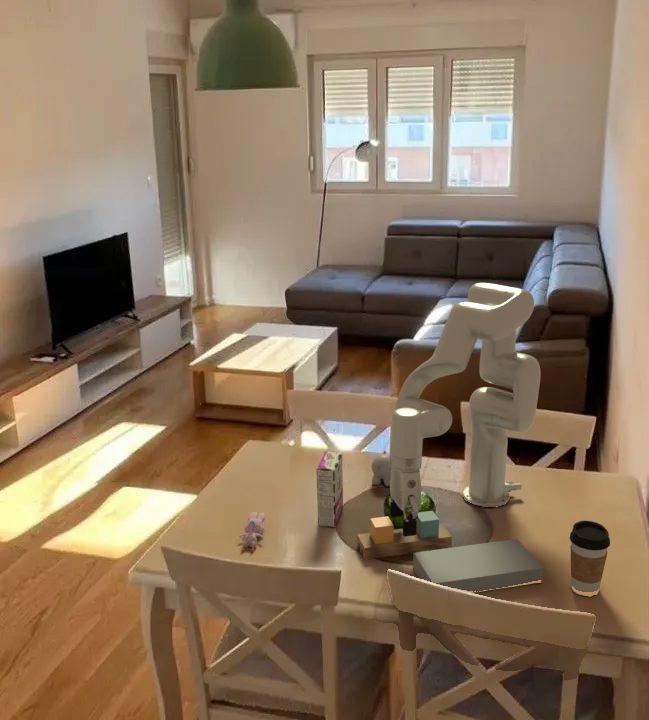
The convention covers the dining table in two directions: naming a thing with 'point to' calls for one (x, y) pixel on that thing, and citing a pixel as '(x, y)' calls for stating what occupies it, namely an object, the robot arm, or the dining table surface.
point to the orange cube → (381, 530)
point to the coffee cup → (588, 555)
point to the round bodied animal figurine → (381, 469)
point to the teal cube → (427, 524)
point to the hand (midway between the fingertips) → (402, 525)
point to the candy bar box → (329, 489)
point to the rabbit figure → (253, 530)
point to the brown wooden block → (402, 544)
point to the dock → (479, 566)
